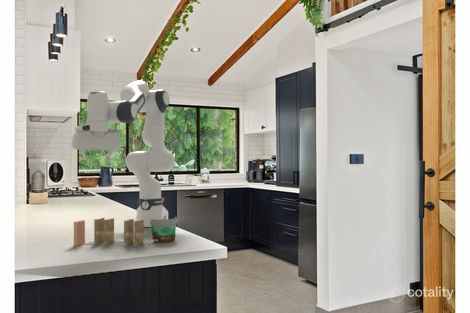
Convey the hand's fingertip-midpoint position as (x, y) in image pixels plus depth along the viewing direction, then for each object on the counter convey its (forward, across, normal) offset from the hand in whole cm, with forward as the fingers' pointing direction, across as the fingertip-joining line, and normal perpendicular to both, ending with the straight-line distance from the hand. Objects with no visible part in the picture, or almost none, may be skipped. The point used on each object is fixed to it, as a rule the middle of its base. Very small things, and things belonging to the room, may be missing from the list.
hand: (97, 160), depth 176 cm
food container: (+35, -23, +20) cm, 46 cm away
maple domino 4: (+34, -10, +19) cm, 41 cm away
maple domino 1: (+34, 0, +5) cm, 34 cm away
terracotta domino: (+35, +8, +3) cm, 36 cm away
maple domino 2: (+34, -2, +8) cm, 35 cm away
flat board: (+34, -5, +12) cm, 37 cm away
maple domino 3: (+34, -8, +16) cm, 38 cm away
